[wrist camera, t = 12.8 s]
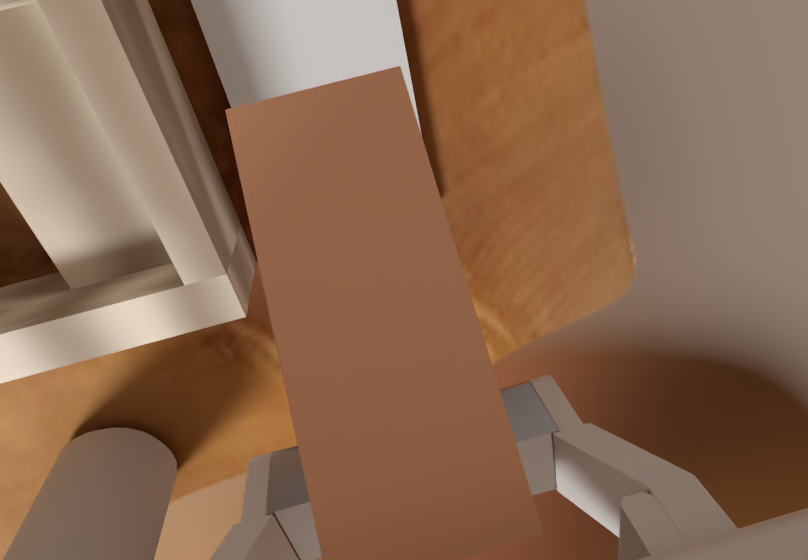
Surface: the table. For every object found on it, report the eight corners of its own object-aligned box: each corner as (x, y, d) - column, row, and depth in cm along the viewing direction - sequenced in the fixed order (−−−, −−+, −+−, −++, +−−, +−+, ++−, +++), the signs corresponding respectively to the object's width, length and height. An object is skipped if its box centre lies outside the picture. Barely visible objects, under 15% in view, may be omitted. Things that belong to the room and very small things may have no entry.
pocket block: (-22, 335, 29) (-92, 408, 24) (-290, 9, 20) (-494, 12, 15) (256, 261, 30) (246, 316, 24) (113, -83, 21) (50, -111, 16)
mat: (286, 245, 29) (285, 253, 29) (194, -1, 23) (190, -1, 22) (432, 207, 30) (436, 213, 29) (384, -47, 23) (387, -49, 22)
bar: (264, 168, 14) (224, 109, 11) (402, 132, 14) (399, 65, 11) (350, 544, 12) (330, 596, 9) (511, 497, 12) (543, 534, 9)
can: (66, 411, 32) (-45, 602, 22) (188, 426, 35) (139, 606, 24) (59, 488, 35) (-41, 688, 25) (171, 497, 38) (121, 683, 28)
